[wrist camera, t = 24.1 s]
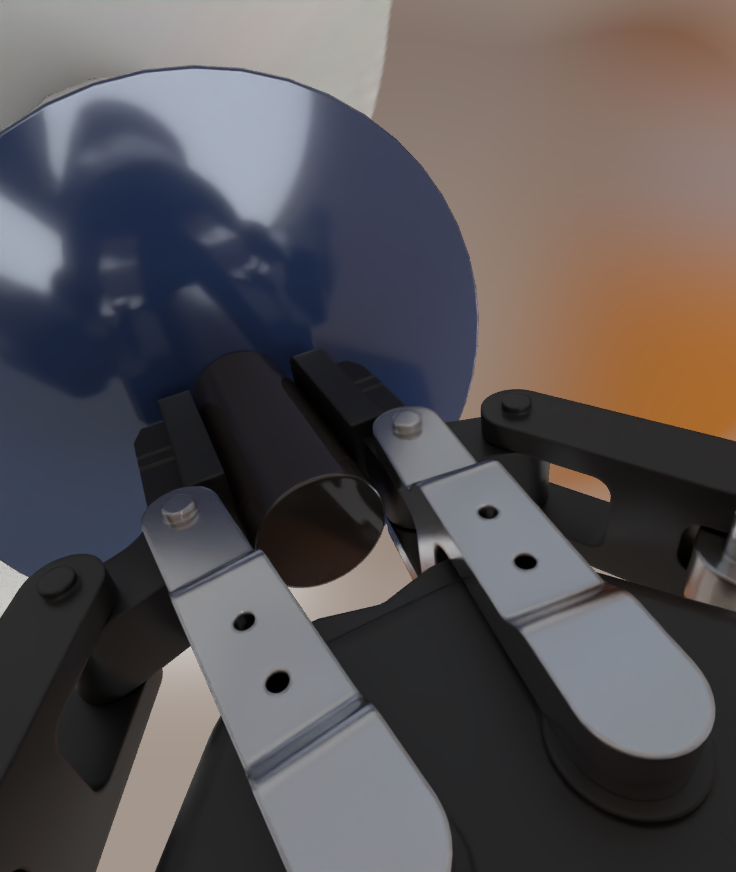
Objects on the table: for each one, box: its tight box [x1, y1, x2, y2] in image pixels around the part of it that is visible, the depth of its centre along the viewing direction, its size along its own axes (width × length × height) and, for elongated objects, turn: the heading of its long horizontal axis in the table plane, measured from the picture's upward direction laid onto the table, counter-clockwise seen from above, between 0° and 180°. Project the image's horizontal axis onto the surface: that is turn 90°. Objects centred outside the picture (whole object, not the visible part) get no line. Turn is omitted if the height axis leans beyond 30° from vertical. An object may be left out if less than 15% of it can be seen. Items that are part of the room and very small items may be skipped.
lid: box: [0, 65, 479, 588], centre depth 12 cm, size 14×14×7 cm
